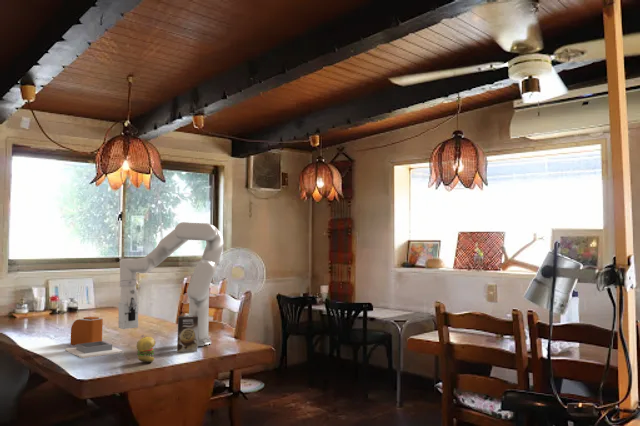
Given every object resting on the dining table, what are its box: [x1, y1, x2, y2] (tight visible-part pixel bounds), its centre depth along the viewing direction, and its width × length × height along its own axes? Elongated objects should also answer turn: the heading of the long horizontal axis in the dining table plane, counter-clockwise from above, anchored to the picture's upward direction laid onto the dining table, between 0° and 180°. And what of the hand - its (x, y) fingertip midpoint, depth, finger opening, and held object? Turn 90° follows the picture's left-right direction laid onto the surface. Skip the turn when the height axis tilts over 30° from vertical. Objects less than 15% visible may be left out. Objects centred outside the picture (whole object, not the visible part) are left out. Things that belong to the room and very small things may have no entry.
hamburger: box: [136, 334, 157, 363], centre depth 215 cm, size 8×7×12 cm
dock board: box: [64, 340, 125, 359], centre depth 239 cm, size 24×18×3 cm
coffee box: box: [176, 315, 198, 353], centre depth 240 cm, size 9×6×16 cm
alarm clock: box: [70, 316, 104, 346], centre depth 257 cm, size 15×8×14 cm, turn 59°
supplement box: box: [117, 301, 139, 330], centre depth 252 cm, size 7×7×13 cm
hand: (128, 319), depth 252 cm, fingers closed on supplement box, 7 cm apart
